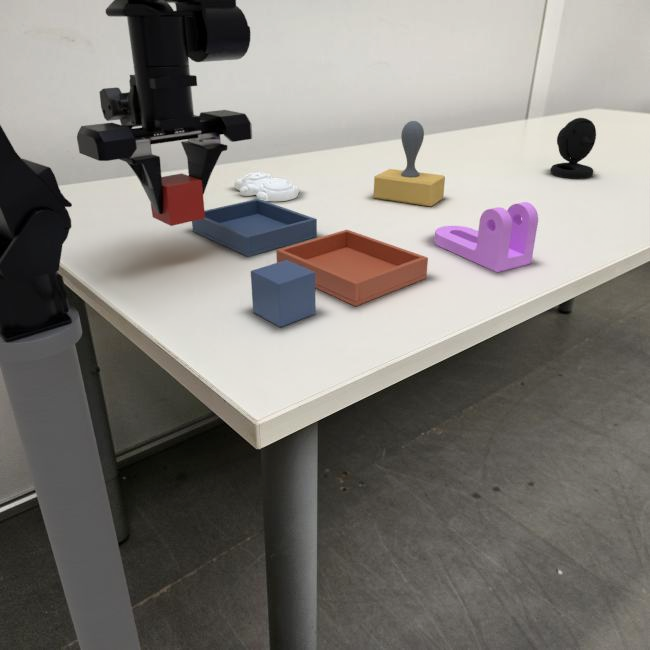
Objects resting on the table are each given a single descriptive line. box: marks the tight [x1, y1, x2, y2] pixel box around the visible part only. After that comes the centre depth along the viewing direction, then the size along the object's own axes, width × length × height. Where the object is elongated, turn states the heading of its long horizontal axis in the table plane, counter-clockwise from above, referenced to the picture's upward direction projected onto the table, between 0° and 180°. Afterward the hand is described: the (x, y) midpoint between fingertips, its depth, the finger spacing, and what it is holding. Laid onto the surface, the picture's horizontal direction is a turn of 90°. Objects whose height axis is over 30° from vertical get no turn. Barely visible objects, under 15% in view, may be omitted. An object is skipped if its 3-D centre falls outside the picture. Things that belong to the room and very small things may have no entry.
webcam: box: [550, 117, 597, 179], centre depth 111 cm, size 8×8×10 cm
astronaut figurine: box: [234, 171, 300, 202], centre depth 101 cm, size 9×12×3 cm
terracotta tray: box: [275, 229, 429, 307], centre depth 69 cm, size 11×13×2 cm
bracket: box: [434, 201, 539, 273], centre depth 75 cm, size 13×6×7 cm, turn 31°
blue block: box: [250, 260, 317, 328], centre depth 60 cm, size 4×4×4 cm
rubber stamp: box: [373, 120, 446, 207], centre depth 96 cm, size 10×6×12 cm, turn 60°
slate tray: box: [191, 198, 318, 257], centre depth 82 cm, size 11×13×2 cm
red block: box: [150, 173, 205, 227], centre depth 71 cm, size 4×4×4 cm
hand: (178, 209), depth 72 cm, fingers closed on red block, 4 cm apart
